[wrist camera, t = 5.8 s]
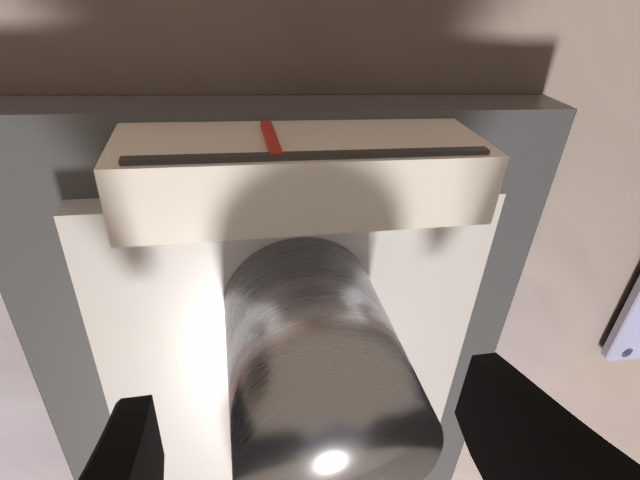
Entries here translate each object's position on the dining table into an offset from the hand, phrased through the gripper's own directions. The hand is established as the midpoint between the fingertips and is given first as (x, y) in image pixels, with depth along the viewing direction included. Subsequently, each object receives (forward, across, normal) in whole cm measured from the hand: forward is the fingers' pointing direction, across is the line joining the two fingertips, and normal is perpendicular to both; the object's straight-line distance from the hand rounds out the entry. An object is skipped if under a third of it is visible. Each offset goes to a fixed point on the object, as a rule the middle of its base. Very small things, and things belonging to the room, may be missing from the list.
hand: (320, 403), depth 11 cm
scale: (+5, 0, +3) cm, 6 cm away
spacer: (+3, 0, -1) cm, 3 cm away
